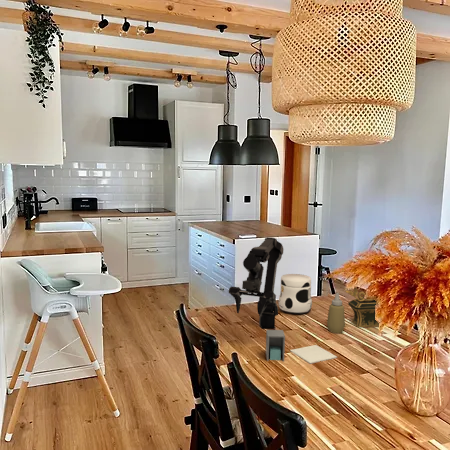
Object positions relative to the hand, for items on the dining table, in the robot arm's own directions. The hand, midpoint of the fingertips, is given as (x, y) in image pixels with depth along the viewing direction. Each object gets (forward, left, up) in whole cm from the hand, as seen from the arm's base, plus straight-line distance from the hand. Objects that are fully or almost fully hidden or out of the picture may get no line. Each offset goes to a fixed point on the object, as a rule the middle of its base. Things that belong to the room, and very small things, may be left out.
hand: (248, 314), depth 173 cm
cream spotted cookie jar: (-32, -48, -15) cm, 60 cm away
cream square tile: (-25, +6, -15) cm, 30 cm away
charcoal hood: (-9, +8, -15) cm, 19 cm away
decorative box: (-60, -26, -15) cm, 68 cm away
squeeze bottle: (-43, -18, -15) cm, 49 cm away
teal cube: (-9, +8, -15) cm, 19 cm away
